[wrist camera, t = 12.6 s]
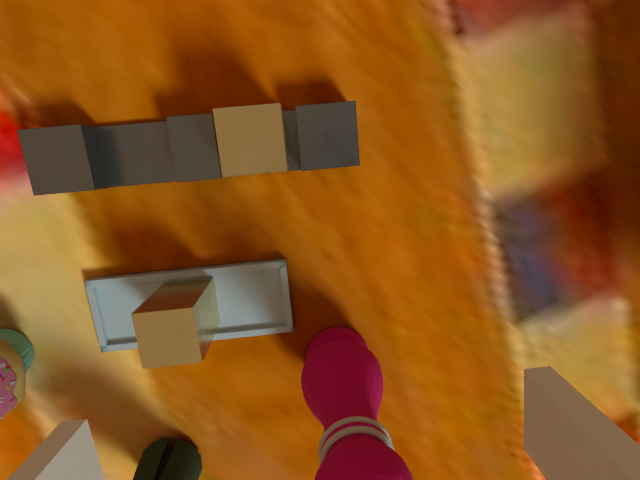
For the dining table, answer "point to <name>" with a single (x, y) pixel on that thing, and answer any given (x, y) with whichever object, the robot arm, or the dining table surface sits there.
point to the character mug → (169, 462)
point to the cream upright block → (251, 139)
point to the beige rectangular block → (177, 323)
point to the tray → (231, 291)
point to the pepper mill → (349, 409)
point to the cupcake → (13, 368)
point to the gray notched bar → (175, 149)
